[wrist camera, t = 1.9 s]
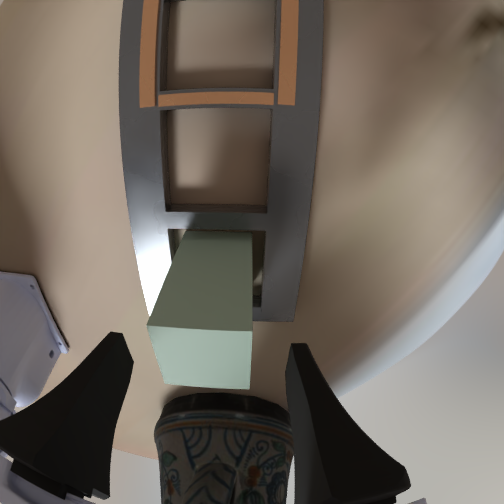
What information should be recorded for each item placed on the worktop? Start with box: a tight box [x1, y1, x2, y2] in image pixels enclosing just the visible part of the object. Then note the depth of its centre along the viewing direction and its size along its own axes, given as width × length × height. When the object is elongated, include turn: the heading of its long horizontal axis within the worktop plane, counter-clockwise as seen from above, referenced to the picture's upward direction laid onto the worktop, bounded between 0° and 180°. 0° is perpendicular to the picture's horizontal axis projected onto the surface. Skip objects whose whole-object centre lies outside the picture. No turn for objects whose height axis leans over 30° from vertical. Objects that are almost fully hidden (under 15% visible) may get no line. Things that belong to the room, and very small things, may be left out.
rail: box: [119, 0, 323, 322], centre depth 14 cm, size 21×10×1 cm, turn 178°
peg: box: [147, 231, 253, 389], centre depth 15 cm, size 4×4×8 cm
